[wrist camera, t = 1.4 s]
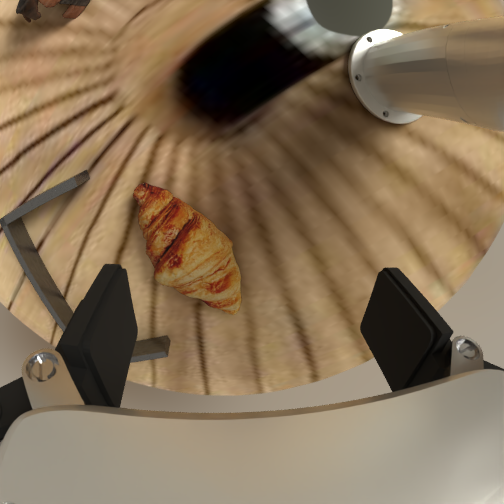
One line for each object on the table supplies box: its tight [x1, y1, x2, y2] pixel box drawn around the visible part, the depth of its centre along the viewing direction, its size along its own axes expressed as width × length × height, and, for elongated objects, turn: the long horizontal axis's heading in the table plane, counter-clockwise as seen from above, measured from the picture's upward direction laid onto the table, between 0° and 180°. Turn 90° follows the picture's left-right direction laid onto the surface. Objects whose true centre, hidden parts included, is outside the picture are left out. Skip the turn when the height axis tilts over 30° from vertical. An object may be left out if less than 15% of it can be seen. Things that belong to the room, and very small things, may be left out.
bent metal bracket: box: [0, 170, 170, 363], centre depth 35 cm, size 15×28×4 cm, turn 15°
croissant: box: [133, 183, 242, 315], centre depth 34 cm, size 21×10×8 cm, turn 31°
